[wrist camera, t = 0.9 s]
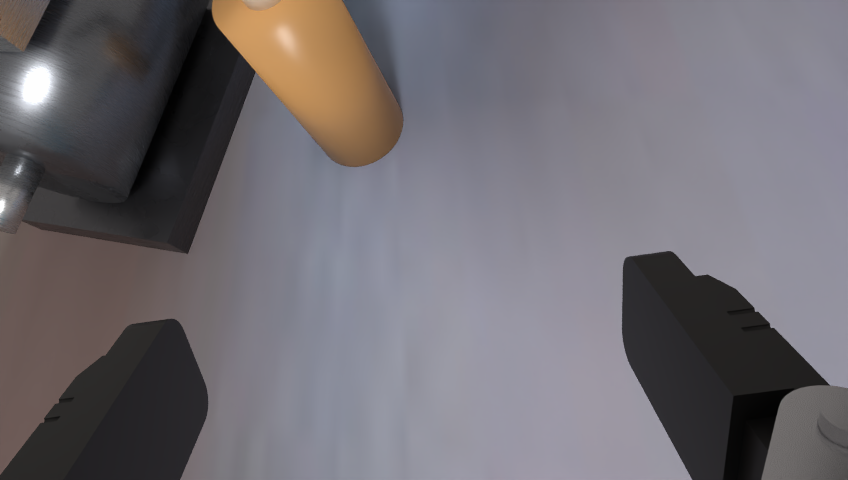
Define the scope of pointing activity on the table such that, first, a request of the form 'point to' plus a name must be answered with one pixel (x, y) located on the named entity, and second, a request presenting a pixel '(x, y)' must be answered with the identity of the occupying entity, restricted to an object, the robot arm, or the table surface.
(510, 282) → the table surface
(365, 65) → the orange capped bottle
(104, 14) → the motor
